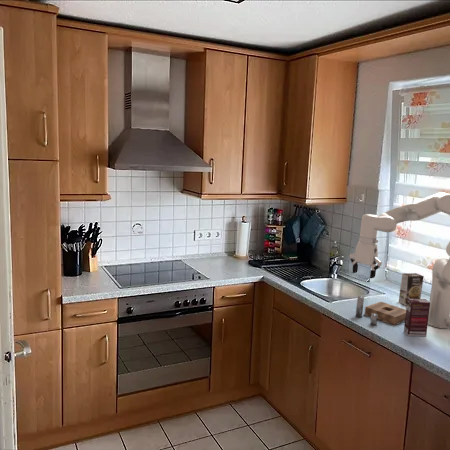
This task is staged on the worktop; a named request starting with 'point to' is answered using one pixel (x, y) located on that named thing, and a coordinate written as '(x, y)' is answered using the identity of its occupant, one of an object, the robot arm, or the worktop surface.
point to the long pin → (359, 306)
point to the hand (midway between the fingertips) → (363, 275)
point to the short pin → (374, 319)
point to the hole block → (386, 312)
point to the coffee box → (410, 287)
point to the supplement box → (416, 317)
